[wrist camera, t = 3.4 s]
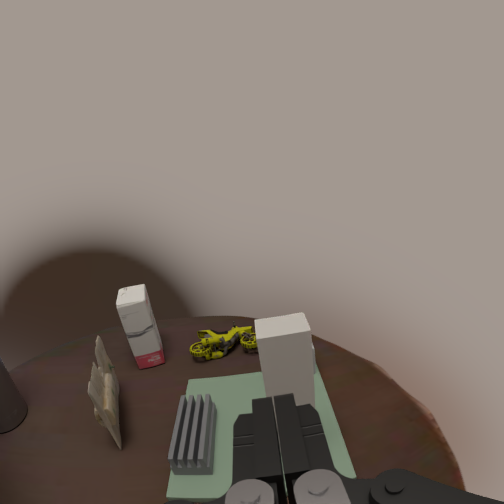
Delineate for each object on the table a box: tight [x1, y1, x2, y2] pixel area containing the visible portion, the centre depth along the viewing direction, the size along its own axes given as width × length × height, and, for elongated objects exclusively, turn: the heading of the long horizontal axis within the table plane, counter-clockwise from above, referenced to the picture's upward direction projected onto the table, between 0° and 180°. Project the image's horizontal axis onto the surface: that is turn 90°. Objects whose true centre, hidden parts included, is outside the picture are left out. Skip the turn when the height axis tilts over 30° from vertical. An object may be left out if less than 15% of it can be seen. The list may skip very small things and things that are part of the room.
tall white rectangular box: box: [255, 312, 315, 452], centre depth 28 cm, size 8×4×14 cm, turn 2°
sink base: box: [166, 344, 356, 502], centre depth 31 cm, size 22×18×5 cm
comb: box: [88, 336, 122, 450], centre depth 34 cm, size 15×2×10 cm, turn 23°
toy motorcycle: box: [190, 321, 258, 360], centre depth 49 cm, size 12×4×7 cm
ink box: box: [116, 284, 165, 369], centre depth 49 cm, size 9×5×12 cm, turn 20°
